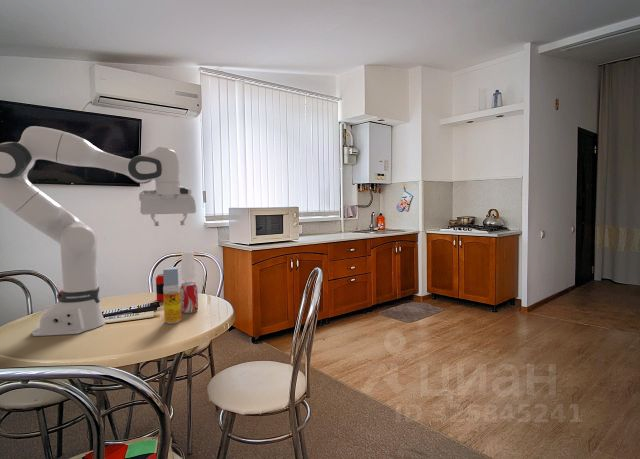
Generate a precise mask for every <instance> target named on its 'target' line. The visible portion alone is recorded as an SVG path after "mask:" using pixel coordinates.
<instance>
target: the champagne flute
mask: <svg viewBox="0 0 640 459" xmlns="http://www.w3.org/2000/svg"><path fill="white" fill-rule="evenodd" d="M196 278H197V270H196V262H195V256H194V251H192V250H190V251H181V263H180V279H181V280H182V281H183V283H187V282H194V281H195V279H196Z"/></svg>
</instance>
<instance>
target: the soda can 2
mask: <svg viewBox="0 0 640 459" xmlns="http://www.w3.org/2000/svg"><path fill="white" fill-rule="evenodd" d="M198 292H199V291H198V286H197V283H196V282H194V281H193V282H187V283H185V282H182V283H181V285H180V296H181V313H183V314H194V313H195V312H196V311H198V309H199V293H198Z"/></svg>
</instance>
